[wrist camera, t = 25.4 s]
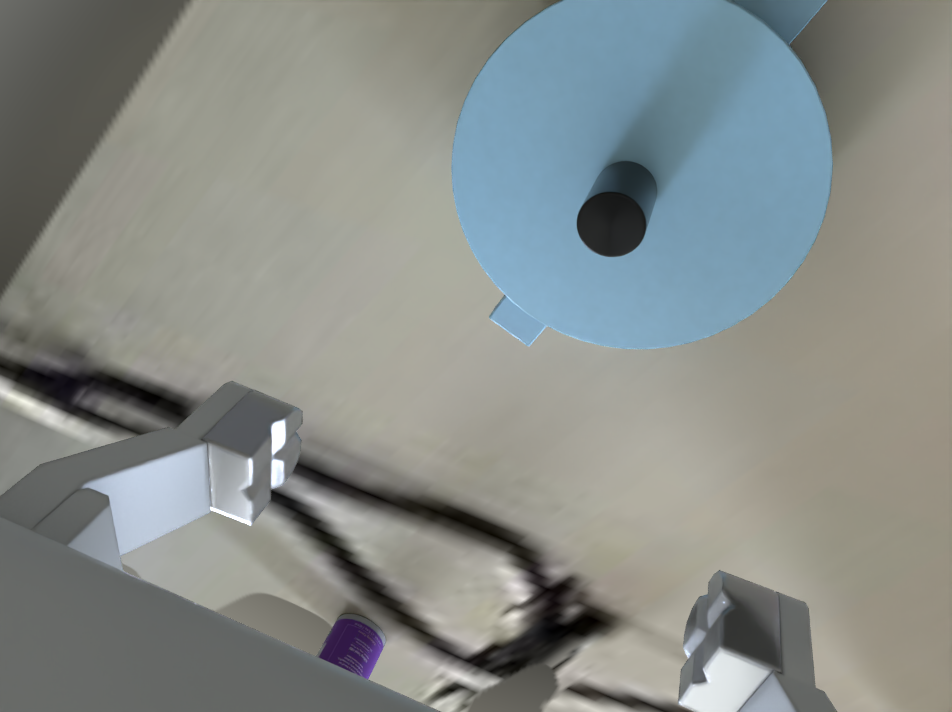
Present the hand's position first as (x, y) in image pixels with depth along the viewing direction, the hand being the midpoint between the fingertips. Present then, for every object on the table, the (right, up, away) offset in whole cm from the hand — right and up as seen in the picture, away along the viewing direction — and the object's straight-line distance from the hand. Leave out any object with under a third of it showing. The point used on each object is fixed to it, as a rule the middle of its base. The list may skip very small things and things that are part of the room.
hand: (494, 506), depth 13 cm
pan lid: (+6, +9, +14) cm, 18 cm away
